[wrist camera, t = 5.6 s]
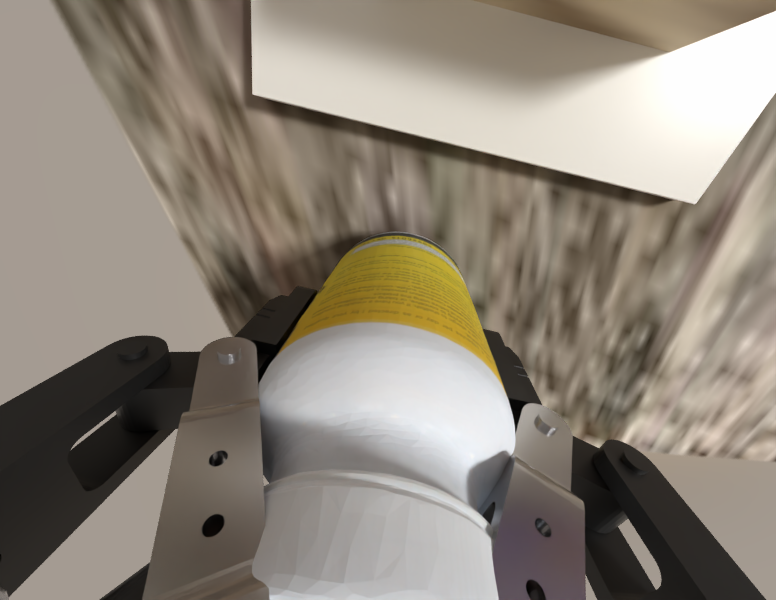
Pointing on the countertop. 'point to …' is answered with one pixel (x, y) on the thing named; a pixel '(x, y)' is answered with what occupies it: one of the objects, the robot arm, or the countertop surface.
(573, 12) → the plinth
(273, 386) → the pill bottle
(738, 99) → the baseplate
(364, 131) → the countertop surface
